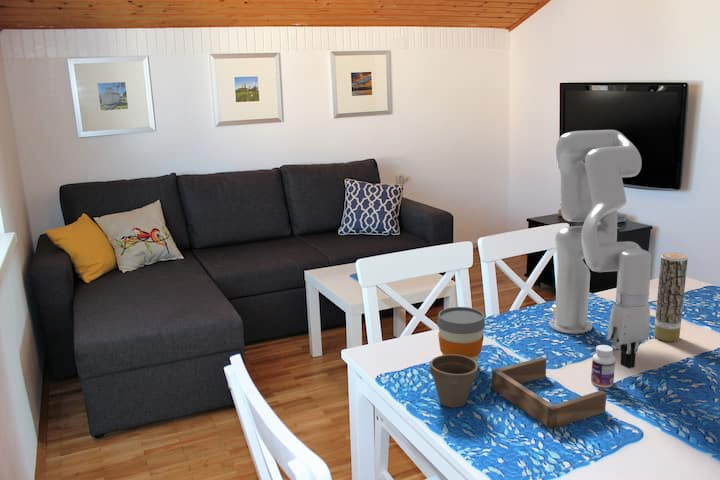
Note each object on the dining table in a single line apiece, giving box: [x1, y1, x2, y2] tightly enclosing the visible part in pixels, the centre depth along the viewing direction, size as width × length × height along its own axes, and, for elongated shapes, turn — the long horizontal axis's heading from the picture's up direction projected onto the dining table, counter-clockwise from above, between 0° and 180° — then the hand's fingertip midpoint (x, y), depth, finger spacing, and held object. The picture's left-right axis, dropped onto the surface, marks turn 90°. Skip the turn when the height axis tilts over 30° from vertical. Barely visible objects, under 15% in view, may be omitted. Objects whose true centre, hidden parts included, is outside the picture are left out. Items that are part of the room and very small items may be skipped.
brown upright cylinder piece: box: [653, 252, 689, 343], centre depth 190 cm, size 7×7×25 cm
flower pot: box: [429, 354, 479, 408], centre depth 159 cm, size 12×11×10 cm
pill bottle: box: [590, 344, 616, 389], centre depth 166 cm, size 5×5×10 cm
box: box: [491, 356, 608, 430], centre depth 159 cm, size 22×16×5 cm
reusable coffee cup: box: [436, 306, 486, 365], centre depth 177 cm, size 13×13×15 cm
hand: (627, 365), depth 169 cm, fingers closed
